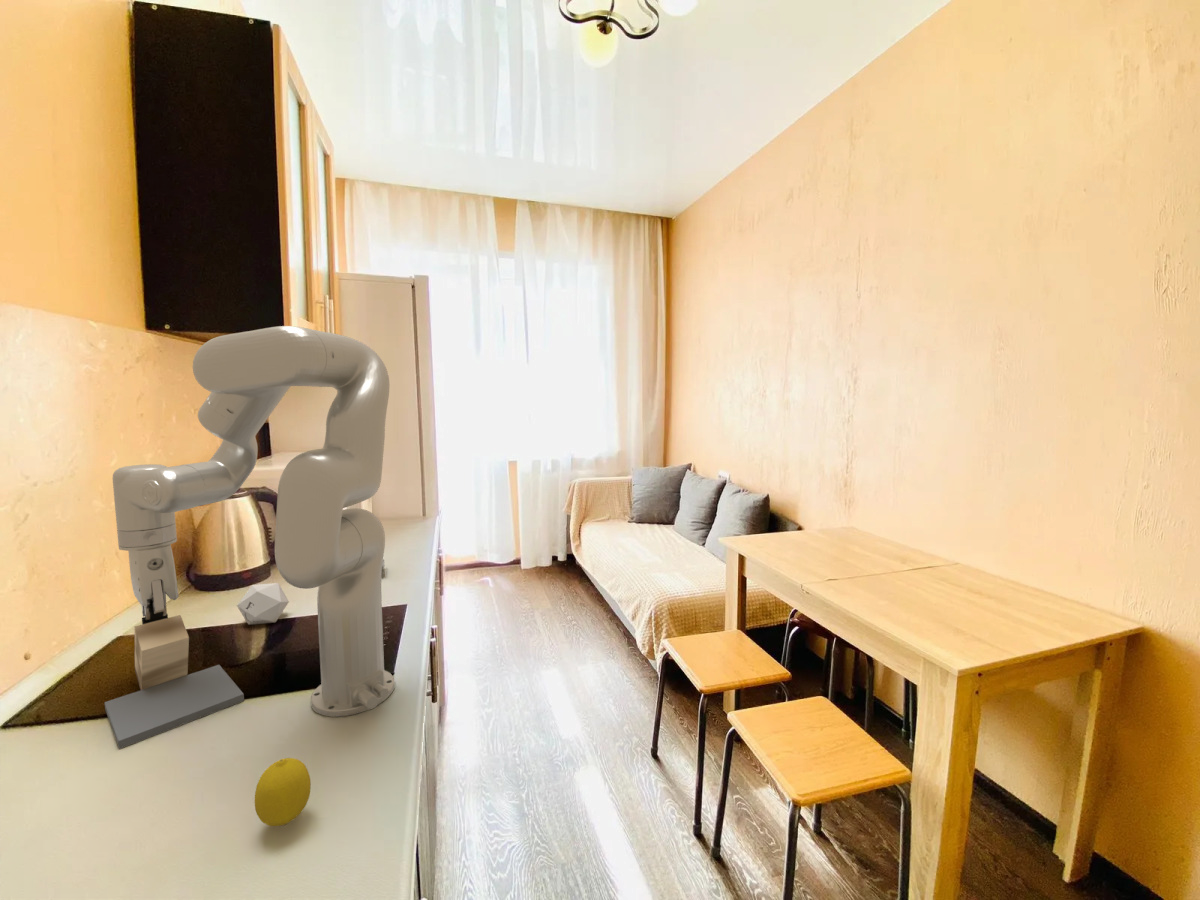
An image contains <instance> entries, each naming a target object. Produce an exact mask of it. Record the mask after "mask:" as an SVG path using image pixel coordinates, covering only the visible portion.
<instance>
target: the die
mask: <svg viewBox="0 0 1200 900" xmlns="http://www.w3.org/2000/svg"><path fill="white" fill-rule="evenodd" d="M289 603H290V600H289V599H288V597H287V595H286V593H285V591H284V590H283V588H282V587H281V585H280V583H279V582H274V583H263V584H262V583H259V584H252V585H250V587H249V588H248V590H247V592H246V593H245V594H244V595H243V597H241V598H240V600H239V602H238V603H237V605H236V607H237V608H238V610H239V612H240V613H241V615H242V616H243V619H244V620H245V621H246V623H247V625H249V626H250V625H263V624H272V623H276V622H277V621H278V620H279V618H280V616H281V615H282V613H283V611H284V610H285V609H286V608H287V606H288V604H289Z"/></svg>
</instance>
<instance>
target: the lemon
mask: <svg viewBox="0 0 1200 900" xmlns="http://www.w3.org/2000/svg"><path fill="white" fill-rule="evenodd" d="M310 795H311V776H310V773H309V771H308V769H307V766H306V765H305V763H304V762H302V760H300V759H298V758H293V757H287V758H286V757H285V758H281V759H279V760H276V761H274V762H273V763H272V764H270V765H269V766H268V767H267V768H266V769H265V770H264V771H263V773H262V774H261V775H260V777H259V779H258V782H257V785H256V787H255V792H254V809H255V813H256V815H257V817H258V818H259V820H260V821H261V822H262V824H265V825H266V826H270V827H279V826H280V827H281V826H286V825H288V824H289V823H291V822H292V821H294V820H296V819H297V817H298V816H299V815H301V813H302V812H303V810H304V809H305V807H306V806H307V804H308V801H309V799H310Z"/></svg>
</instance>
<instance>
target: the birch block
mask: <svg viewBox="0 0 1200 900" xmlns="http://www.w3.org/2000/svg"><path fill="white" fill-rule="evenodd" d="M189 636H190V635H189V634H188V631H187V629H186V626H185V623H184V621H183V618H182V616H181V614H179V615H175V616H171V617H168V618H166V619H162V620H158V621H154V622H150V623H146V624H142V623H141V624H138V625H135V626H134V671H135V675H136V679H137V683H138V686H139V689H140V690H143V689H146V688H149V687H152V686H155V685H158V684H162V683H165V682H168V681H171V680H174V679H177V678H180V677H183V676H186V675H189V674H188V672H189V671H188V670H189V669H188V668H189V650H190V649H189V648H190V646H189V645H190V644H189V643H190V637H189ZM140 690H139V691H140Z"/></svg>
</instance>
